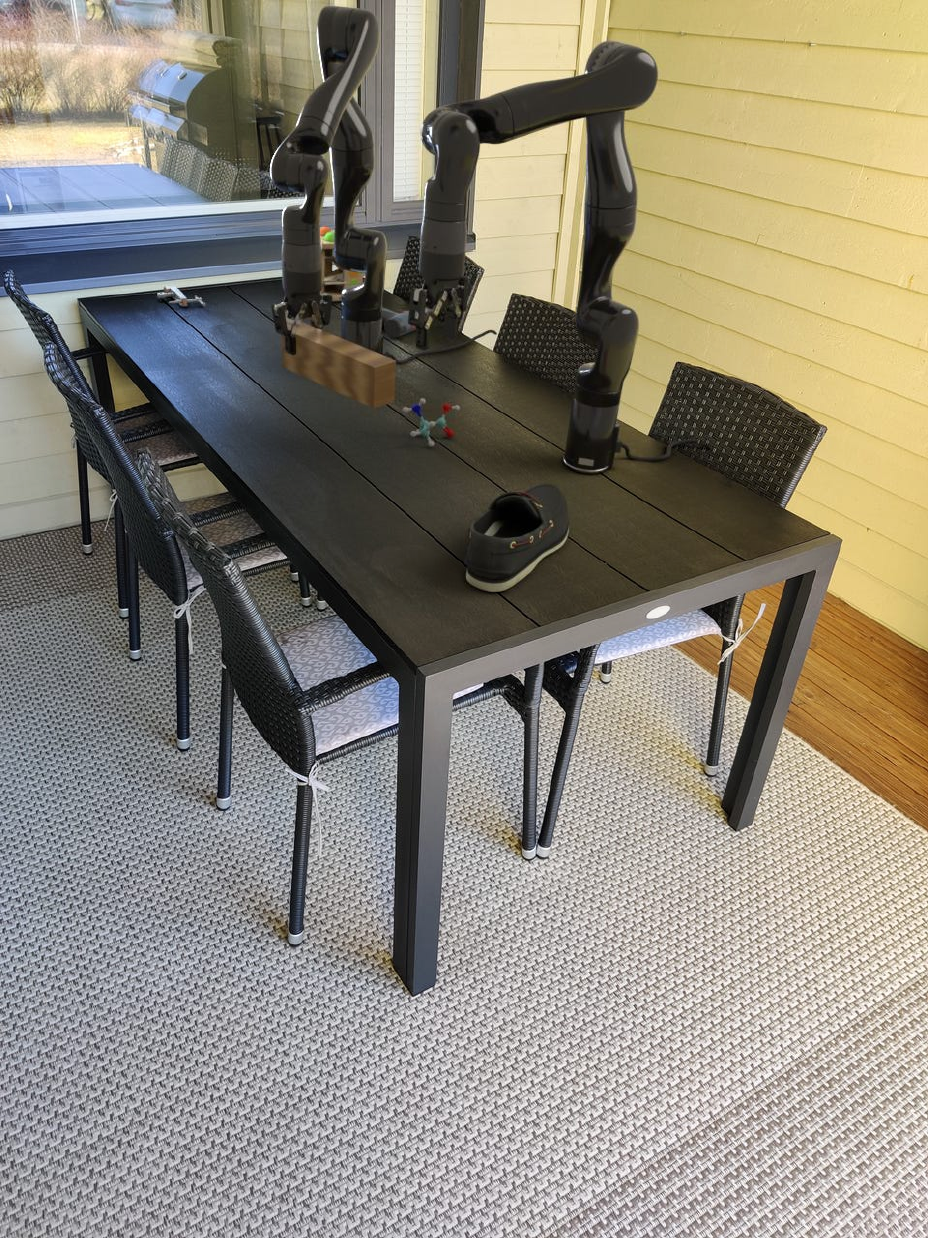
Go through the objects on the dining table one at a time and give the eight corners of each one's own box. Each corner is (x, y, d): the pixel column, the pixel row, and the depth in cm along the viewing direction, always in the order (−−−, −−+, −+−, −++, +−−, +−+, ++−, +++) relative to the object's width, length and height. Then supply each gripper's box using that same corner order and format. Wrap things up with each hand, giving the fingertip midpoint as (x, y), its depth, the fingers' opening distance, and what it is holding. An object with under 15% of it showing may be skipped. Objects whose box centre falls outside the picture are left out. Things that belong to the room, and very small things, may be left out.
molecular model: (451, 439, 197) (435, 390, 196) (410, 454, 201) (394, 406, 199) (469, 435, 207) (454, 389, 206) (430, 449, 211) (415, 404, 210)
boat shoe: (593, 526, 180) (600, 474, 174) (502, 598, 156) (507, 541, 151) (532, 507, 186) (537, 456, 180) (435, 574, 162) (438, 517, 156)
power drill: (380, 308, 276) (439, 325, 268) (339, 322, 262) (400, 341, 254) (381, 288, 273) (441, 305, 265) (339, 302, 259) (401, 320, 251)
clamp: (153, 286, 267) (189, 284, 272) (153, 294, 268) (189, 292, 273) (168, 303, 257) (206, 300, 261) (169, 311, 258) (206, 308, 263)
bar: (282, 367, 199) (280, 327, 195) (303, 360, 203) (302, 321, 198) (374, 408, 186) (374, 367, 181) (394, 401, 190) (396, 360, 185)
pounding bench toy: (292, 303, 272) (291, 236, 262) (277, 288, 282) (276, 223, 272) (370, 299, 281) (372, 234, 271) (352, 285, 292) (353, 221, 282)
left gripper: (285, 276, 181) (288, 364, 191) (343, 263, 190) (342, 348, 200) (259, 266, 185) (263, 352, 195) (317, 254, 194) (317, 337, 204)
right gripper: (437, 258, 154) (430, 358, 163) (485, 243, 164) (476, 339, 173) (398, 248, 157) (394, 347, 166) (448, 234, 167) (441, 328, 176)
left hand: (303, 350), depth 197 cm, fingers closed on bar, 5 cm apart
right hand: (436, 343), depth 169 cm, fingers open, 8 cm apart
